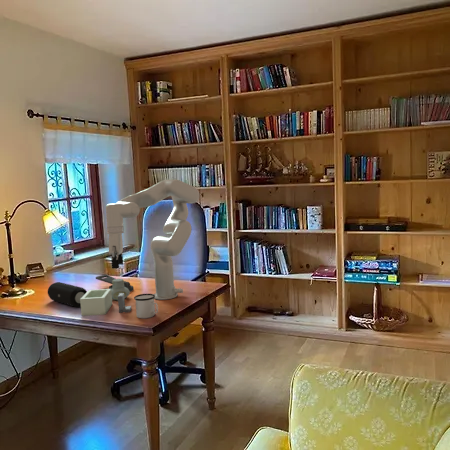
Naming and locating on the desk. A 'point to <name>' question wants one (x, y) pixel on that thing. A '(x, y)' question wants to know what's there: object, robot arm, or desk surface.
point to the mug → (145, 305)
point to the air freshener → (119, 289)
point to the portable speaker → (66, 293)
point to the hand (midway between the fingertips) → (117, 266)
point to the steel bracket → (122, 304)
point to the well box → (96, 302)
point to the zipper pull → (110, 279)
